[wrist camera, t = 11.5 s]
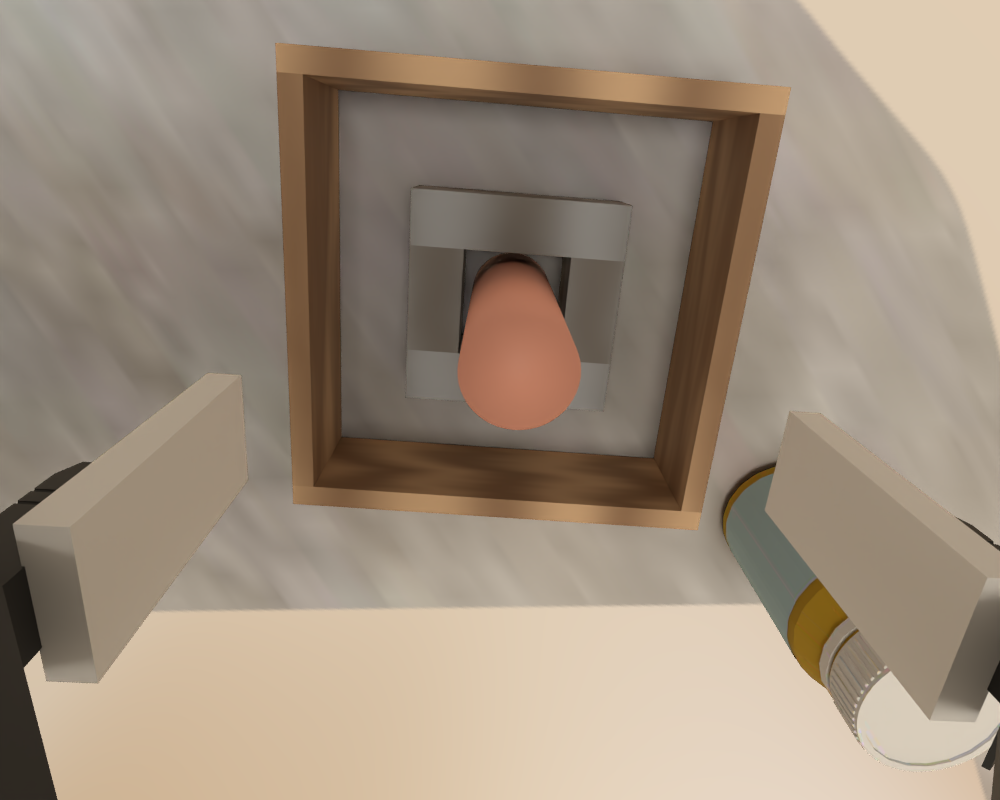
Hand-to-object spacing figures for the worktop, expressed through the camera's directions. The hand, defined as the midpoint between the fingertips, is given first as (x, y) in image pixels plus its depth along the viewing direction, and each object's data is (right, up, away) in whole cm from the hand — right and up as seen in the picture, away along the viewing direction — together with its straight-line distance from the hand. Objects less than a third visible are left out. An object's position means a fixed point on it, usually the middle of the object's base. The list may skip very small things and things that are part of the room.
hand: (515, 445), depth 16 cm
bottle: (+16, -6, +23) cm, 29 cm away
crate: (0, +7, +18) cm, 20 cm away
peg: (0, +7, +18) cm, 20 cm away
